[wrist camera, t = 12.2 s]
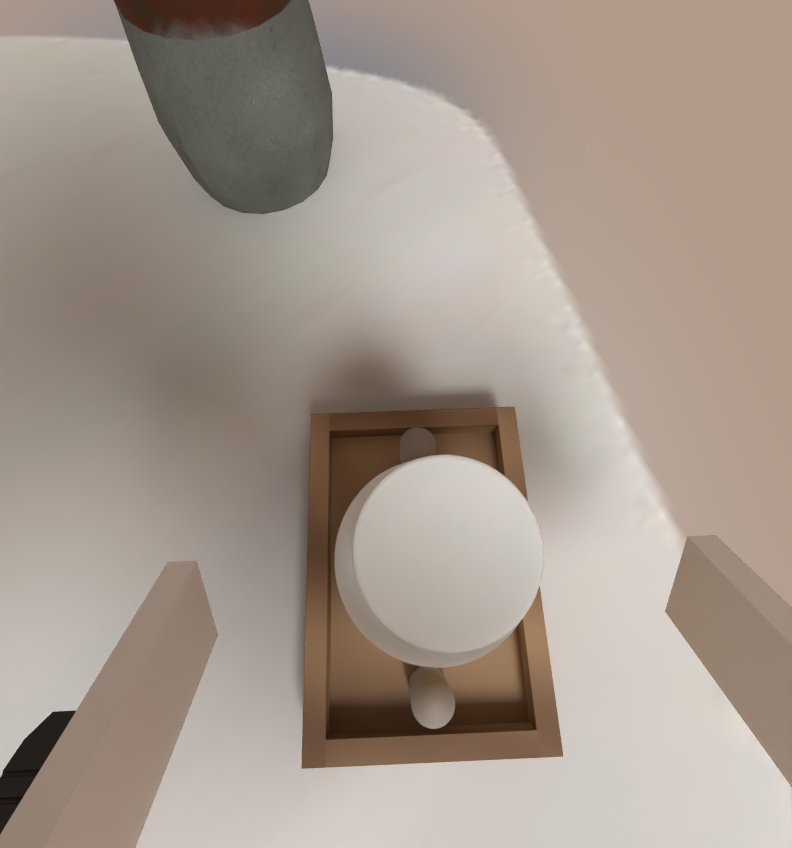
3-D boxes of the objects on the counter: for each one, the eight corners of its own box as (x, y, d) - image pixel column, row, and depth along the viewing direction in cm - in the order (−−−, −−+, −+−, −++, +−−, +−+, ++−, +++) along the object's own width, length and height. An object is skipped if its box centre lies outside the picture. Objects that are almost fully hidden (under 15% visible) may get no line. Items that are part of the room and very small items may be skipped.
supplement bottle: (333, 608, 18) (269, 630, 9) (381, 482, 19) (370, 391, 10) (464, 660, 17) (542, 743, 8) (502, 526, 19) (601, 469, 10)
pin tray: (543, 736, 17) (586, 780, 14) (313, 746, 17) (288, 794, 13) (503, 423, 22) (527, 388, 18) (319, 430, 22) (302, 396, 18)
